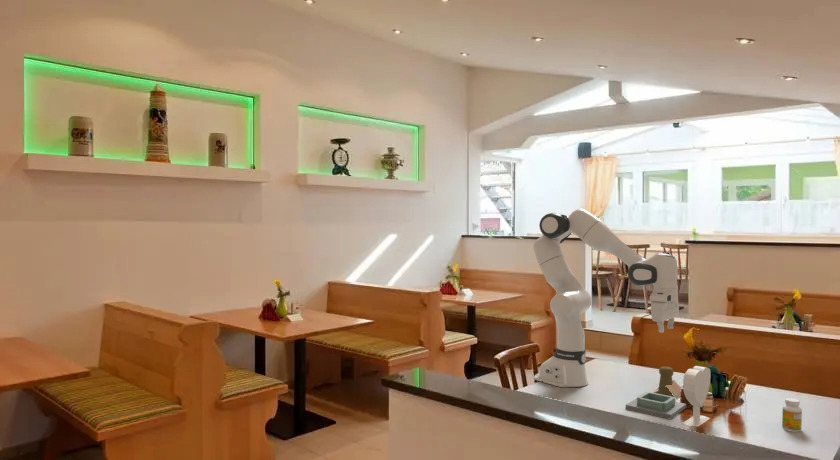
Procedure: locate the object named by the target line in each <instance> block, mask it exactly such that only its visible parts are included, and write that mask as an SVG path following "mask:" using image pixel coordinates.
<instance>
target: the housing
mask: <svg viewBox="0 0 840 460" xmlns="http://www.w3.org/2000/svg"><path fill="white" fill-rule="evenodd" d="M686 409H687V404H686V403H684V402H680V401H676V397H675V396H674V397H672V396H667V395H662V394H658V392H657V393H656V392H649V391H645V392H644V393H642V394H641V395H638V396H637V397H636V398H635V399H633V400H631V401H630V402H628V403H626V404H625V410H629V411H633V412H638V413H642V414H647V415H651V416H655V417H659V418H664V419H668V420H672V419H674V418H675V417H676V416H677V415H679V414H680V413H682V412H683V411H684V410H686Z"/></svg>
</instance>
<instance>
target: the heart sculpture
mask: <svg viewBox="0 0 840 460" xmlns="http://www.w3.org/2000/svg"><path fill="white" fill-rule="evenodd" d="M711 378H712V377H711V369H710V368H709V367H705V366H699V365H694V366H693V367H692V368H688V369H687V370H686V371H685V373H684V374H683V379H682V380H683V381H682V383H683V385H682V386H683V394H684V397H685V398H686V400H687V401H688V403H690V405H691V406H692V407H693V409H692V416H690V418H688V419H687V420H685V421H683V422H682V424H684V425H687V426H690V427H697V428H699V427H700V426H701V425H702V424H704V423H705V422H707V421H709V420H710V419H711V418H710V417H708V416H706V415H701V408H703V406H704V403H705V402H706V399H707V397H708V393H709V390H710V386H711Z"/></svg>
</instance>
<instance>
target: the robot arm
mask: <svg viewBox="0 0 840 460" xmlns="http://www.w3.org/2000/svg"><path fill="white" fill-rule="evenodd" d="M538 224H539V225H538V226H539V230H540V232H541V234H542V236H540V237H538V238H537V239H536V240H535V241H534V243H533V250H534V253H535V257H536V260H537V263H538V266H539V268H540V269H541V271H542V273H543V275H544V279H545V280H546V282H547V284H548V285H549V286H551V287H552V289H554V291H555V292H556V294H555V295H554V296H553V297H552V298H551V299H550V302H549V309H550V311H551V313H552V314H553V316H554V319H555V324H556V325H555V326H556V332H557V333H556V334H557V342H556V343H557V346H556V347H555V348H553V349H552V350H551V354H552V353H553V354H552V355H553V356H551V357H550V358H548V359H546V360H545V361H544V362H542V363H541V365H540V367H539V370H538V371H539V372H538V373H536V374H534V376H533V380H535V381H539V382H541V383H545V384H549V385H552V386H556V387H559V388H567V387H570V388H571V387H572V388H577V387H579V388H580V387H585V386H587V385H588V384H589V380H588V377H587V372H586V358H587V357H586V349H585V347H586V346H585V338H586V337H585V336H586V334H585V333H586V332H585V329H584V327H583V326H582V320H581V315H582V314H584V313H585V312H586V311H587V310H589V308H590V307H591V305H592V302H593V299H592V295H591V293H590V292H588V290H587V289H585V288H584V287H583V286H582V284H581V283H580V281H579V280H578V279H577V277H576V275H574V273H573V272H572V270H571V267H570V266H569V264H568V262H567V259H566V258H565V255H564V252H563V251H562V249H561V246H560V245H561V244H562V243H564V241H565V240H566V239H568V238H569V237H570V236H571V234H573V235H575V236H576V237H578V238H579V239H580V240H581V241H583V242H584V244H586V245H587V246H589V247H590V248H592V249H594V250H596V251H597V252H598V251H600V252H605V253H608V254H611V255H613V256H614V257H616V258H618V259H619V260H620V261H622V262H623V263H624V264H625V265H627V266H628V270H627V277H628V279H629V282H631V283H632V284H633V285H635V286H638V287H642V286H643V287H644V286H647V285H652V286H653V287H652V288H653V290H652V293H651V294H650V295H649V301H650V302H651V303H650V315H651V319H652V320H651V321H653V322H656V325H657V327H658V332H659V333H661V334H662V333H664V332H665V329H666V328H667V329H668V330H672V329H674V323H675V318H676V317H678V316H679V315H680V305H679V303H680V302H679V286H678V282H677V281H678V277H679V273H678V270H679V269H678V262H677V259H676V257H675V256H674V255H672V254H670V253H669V254H668V253H665V252H664V253H662V252H656V253H654V254H653V255H652V256H650V257H648V258H646V257H644V256H641V255H640V254H639V253H637V252H636V251H635V250H633V248H631V247H630V246H629V245H628V244H626V242H625V243H624V242H623V241H622V239H620V238H619V236H618V235H616V234H615V233H614V232H613V230H611V229H610V227H608V225H607V224H605V223H604V222H603V221H602V220H601V219H599V217H597V216H595V214H592V213H591V212H590V211H587V210H586V209H583V208H578V209H575V210H574V211H572V212H571V213H570V214H569V215H566V214H562V213H557V212H551V213H547V214H544V216H543V217H541V219H540V221H539V223H538ZM665 321H667V324H666V325H667V327H666V328H665V327H664V324H665ZM542 381H543V382H542Z"/></svg>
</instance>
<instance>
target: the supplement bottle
mask: <svg viewBox="0 0 840 460" xmlns="http://www.w3.org/2000/svg"><path fill="white" fill-rule="evenodd" d="M781 416H782V417H781V418H782V419H781V421H782V423H781V426H782V427H781V428H782V429H784V430H785V429H786V431H788V430H790V431H789V432H793V431H799V432H801V431H802V423H803V422H802V419H803V417H802V416H803V410H802V407H800V400H799V399H797V398H792V397H788V398H787V397H786V398H785V399H784V404H783V406H782V415H781Z"/></svg>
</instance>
